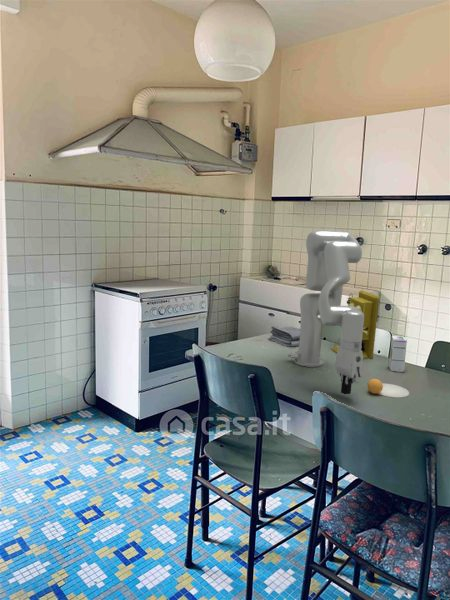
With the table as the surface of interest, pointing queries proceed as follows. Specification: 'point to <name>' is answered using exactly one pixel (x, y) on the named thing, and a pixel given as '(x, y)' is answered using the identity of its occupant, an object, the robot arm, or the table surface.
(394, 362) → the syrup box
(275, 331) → the towel
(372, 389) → the ball
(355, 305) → the vintage telephone
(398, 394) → the disc
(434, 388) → the table surface
